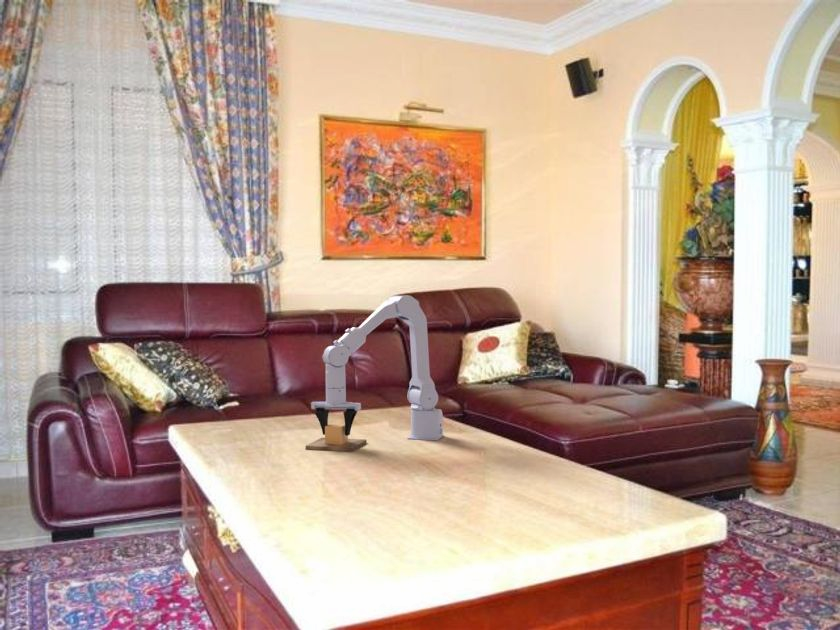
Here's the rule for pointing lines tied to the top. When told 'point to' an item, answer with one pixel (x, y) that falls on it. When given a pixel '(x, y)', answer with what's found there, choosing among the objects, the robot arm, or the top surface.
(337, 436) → the orange cube
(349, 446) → the brown rectangular slab
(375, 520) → the top surface
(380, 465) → the top surface
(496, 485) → the top surface
